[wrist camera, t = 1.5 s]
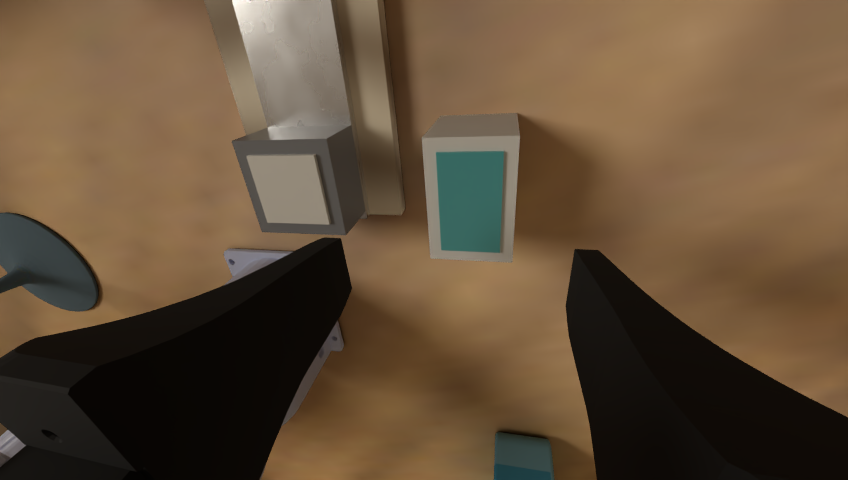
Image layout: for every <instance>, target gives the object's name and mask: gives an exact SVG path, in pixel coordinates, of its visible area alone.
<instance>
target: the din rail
mask: <svg viewBox="0 0 848 480" xmlns="http://www.w3.org/2000/svg"><path fill="white" fill-rule="evenodd" d="M232 2H233V6H234V9H235V13H236V16H237V20H238V24H239V27H240V31H241V34H242V38H243V41H244V45H245V49H246V52H247V56H248V59H249V63H250V67H251V70H252V74H253V77H254V81H255V84H256V88H257V92H258V95H259V99H260V102H261V106H262V109H263V113H264V117H265V120H266V124H267V127H297V126H328V125H351V126H352V132H353V138H354V144H355V150H356V156H357V162H358V168H359V174H360V180H361V186H362V192H363V198H364V204H365V210H366V211H365V213H364V214H363V215H362V216H361V217H360V219H367V218H368V217H369V215H370V210H369V204H368V198H367V191H366V185H365V179H364V173H363V166H362V160H361V154H360V148H359V141H358V135H357V129H356V123H355V116H354V110H353V104H352V98H351V91H350V85H349V79H348V72H347V66H346V60H345V54H344V47H343V41H342V35H341V29H340V22H339V16H338V10H337V4H336V0H232Z"/></svg>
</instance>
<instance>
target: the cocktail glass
mask: <svg viewBox="0 0 848 480" xmlns="http://www.w3.org/2000/svg"><path fill="white" fill-rule="evenodd" d="M0 265H1V266H2V267H3V268H4V269H5V270H6V272H7V273H8V274H6V275H5V276H3V277H2V278H0V293H2V292H5V291H7V290H10V289H13V288H16V287H18V286H23V287H24V288H25V289H27V290H28V291H29V292H31V293H32V294H34V295H35V296H37V297H38V298H40V299H42V300H43V301H45V302H47V303H49V304H51V305H53V306H56V307H59V308H61V309H65V310H69V311H85V310H88V309H90V308H91V307H93V306H94V305H95V303H96V302H97V299H98V287H97V283H96V280H95V278H94V276H93V274H92V272H91V270H90V269H89V267H88V266H87V264H86V263H85V261H84V260H83V259H82V258H81V256H80V255H79V254H78V253H77V252H76V251H75V250H74V249H73V248H72V247H71V246H70V245H69V244H68V243H67V242H66V241H65V240H64V239H62V238H61V237H60V236H58V235H57V234H56V233H55V232H53V231H52V230H50V229H49V228H47V227H46V226H44V225H42V224H40V223H38V222H37V221H35V220H32V219H30V218H28V217H25V216H22V215H18V214H14V213H0Z"/></svg>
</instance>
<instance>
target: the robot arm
mask: <svg viewBox="0 0 848 480" xmlns="http://www.w3.org/2000/svg"><path fill="white" fill-rule="evenodd" d="M224 257H225V259H226V261H227V264H228V266H229V269H230V271H231V274H232V276H233V278H231V279H230V280H229V281H228V282H227V283H226V284H225V285H223V286H221V287H219V288H217V289H214V290H211V291H209V292H206V293H204V294H201V295H199V296H196V297H193V298H190V299H187V300H184V301H181V302H178V303H175V304H172V305H169V306H166V307H163V308H160V309H157V310H153V311H150V312H147V313H143V314H139V315H136V316H132V317H129V318H125V319H121V320H117V321H113V322H109V323H105V324H101V325H96V326H92V327H87V328H82V329H77V330H73V331H68V332H63V333H58V334H53V335H48V336H43V337H37V338H34V339H32V340H30V341H28V342H26V343H24V344H21V345H20V346H18V347H17V348H15V349H14V350H12V351H10V352H9V353H7V354H6V355H4V356H3V357H1V358H0V423H1V424H2V425H4V426H5V427H6V428H7V429H8V430H7V431H6V432H5V433H4V434H3V435H1V436H0V480H261V478H262V475H263V473H264V470H265V466H266V462H267V460H268V457H269V454H270V452H271V449H272V447H273V444H274V442H275V439H276V437H277V435H278V433H279V430H280V428H281V426H283V425H284V424H285V423H286V422H287V421H288V420H289V419H290V418H292V416H293V415H294V414H295V413H296V412H297V410H298V409H299V407H300V405H301V404H302V402H303V400H304V398H305V397H306V395H307V393H308V391H309V389H310V388H311V386H312V384H313V382H314V381H315V379H316V377H317V375H318V374H319V372H320V370H321V368H322V366H323V365H324V363H325V361H326V359H327V358H328V356H329V354H330V352H331V351H342V349H343V347H344V343H343V339H342V335H341V331H340V327H339V323H338V319H339V317H340V315H341V314H342V311H343V309H344V307H345V304H346V302H347V300H348V297H349V294H350V292H351V289H352V286H351V282H350V277H349V273H348V268H347V264H346V259H345V255H344V250H343V246H342V241H341V238H322V239H319V240H317V241H314V242H312V243H310V244H308V245H306V246H304V247H302V248H300V249H298V250H296V251H294V252H290V251H270V250H250V249H231V248H230V249H227V250H226V251H225V252H224ZM566 313H567V323H568V332H569V338H570V343H571V347H572V351H573V355H574V360H575V364H576V368H577V372H578V376H579V380H580V384H581V388H582V392H583V396H584V401H585V405H586V409H587V414H588V419H589V424H590V430H591V438H592V445H593V452H594V460H595V467H596V476H597V480H848V417H846V416H844V415H842V414H840V413H838V412H836V411H834V410H832V409H830V408H828V407H826V406H824V405H822V404H820V403H818V402H816V401H814V400H812V399H810V398H808V397H806V396H804V395H802V394H800V393H799V392H797V391H795V390H793V389H791V388H789V387H787V386H785V385H784V384H782V383H780V382H778V381H776V380H774V379H773V378H771V377H769V376H767V375H766V374H764V373H762V372H760V371H759V370H757V369H755V368H753V367H752V366H750V365H748V364H747V363H745V362H743V361H741V360H740V359H738V358H736V357H735V356H733V355H731V354H730V353H728V352H727V351H725V350H723V349H722V348H720V347H719V346H717V345H716V344H714V343H713V342H711V341H710V340H708V339H707V338H705V337H704V336H702V335H701V334H699V333H698V332H696V331H695V330H693V329H692V328H690V327H689V326H687V325H686V324H685V323H683V322H682V321H680V320H679V319H678V318H676V317H675V316H674V315H673V314H671V313H670V312H669V311H667V310H666V309H665V308H664V307H662V306H661V305H660V304H658V303H657V302H656V301H655V300H654V299H652V298H651V297H650V296H649V295H647V294H646V293H645V292H644V291H643V290H642V289H640V288H639V287H638V286H637V285H636V284H635V283H634V282H632V281H631V280H630V279H629V278H628V277H627V276H626V275H625V274H624V273H623V272H621V271H620V270H619V269H618V268H617V267H616V266H615V265H614V264H613V263H612V262H611V261H610V260H609V259H608V258H606V257H605V256H604V255H603V254H602V253H601V252H600V251H599V250H583V249H575V251H574V257H573V263H572V270H571V276H570V282H569V288H568V295H567V301H566Z"/></svg>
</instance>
